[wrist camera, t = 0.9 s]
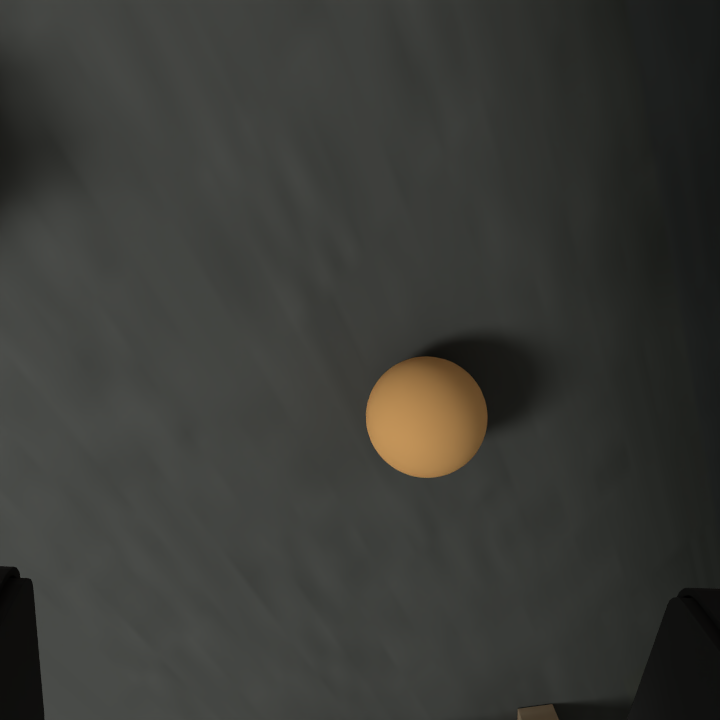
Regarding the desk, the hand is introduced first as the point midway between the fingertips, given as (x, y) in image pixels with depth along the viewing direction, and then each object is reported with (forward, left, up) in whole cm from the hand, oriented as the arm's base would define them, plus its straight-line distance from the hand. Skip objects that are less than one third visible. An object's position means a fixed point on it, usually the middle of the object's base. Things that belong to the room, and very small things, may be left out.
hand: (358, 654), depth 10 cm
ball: (-4, +5, -17) cm, 19 cm away
